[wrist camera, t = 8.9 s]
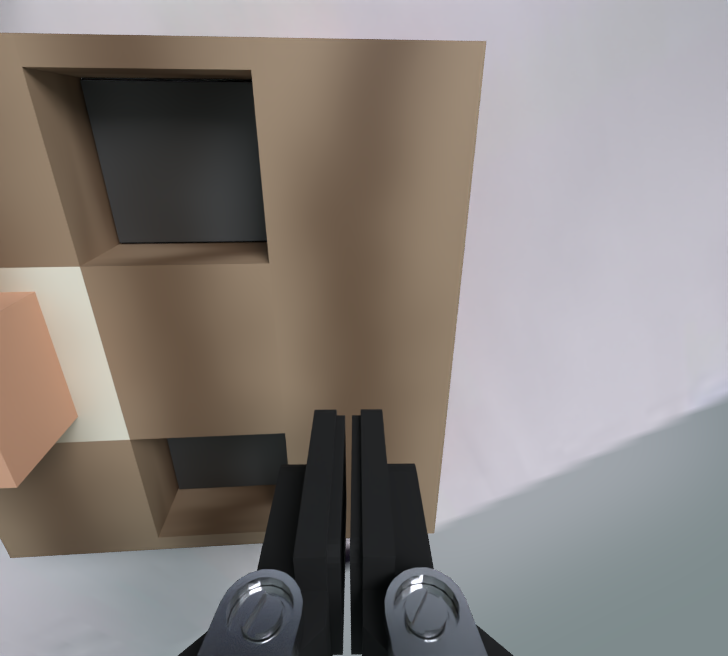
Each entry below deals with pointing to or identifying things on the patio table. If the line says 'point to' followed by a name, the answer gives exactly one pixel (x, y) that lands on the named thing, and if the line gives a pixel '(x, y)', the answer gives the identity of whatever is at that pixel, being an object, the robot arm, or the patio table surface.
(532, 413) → the patio table surface
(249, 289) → the board
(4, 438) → the block
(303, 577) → the robot arm
